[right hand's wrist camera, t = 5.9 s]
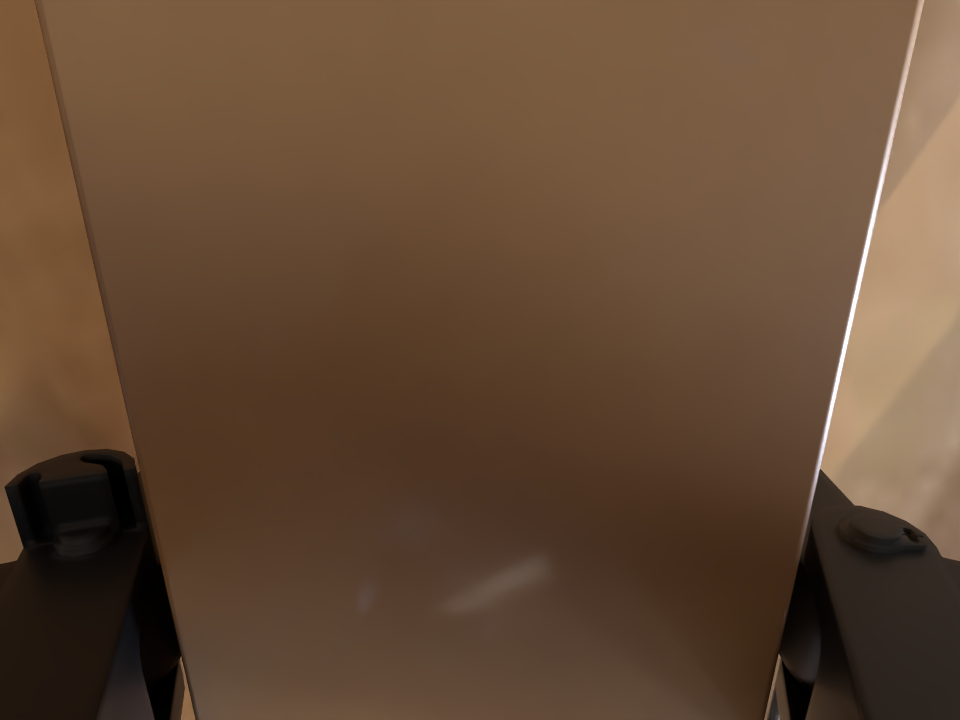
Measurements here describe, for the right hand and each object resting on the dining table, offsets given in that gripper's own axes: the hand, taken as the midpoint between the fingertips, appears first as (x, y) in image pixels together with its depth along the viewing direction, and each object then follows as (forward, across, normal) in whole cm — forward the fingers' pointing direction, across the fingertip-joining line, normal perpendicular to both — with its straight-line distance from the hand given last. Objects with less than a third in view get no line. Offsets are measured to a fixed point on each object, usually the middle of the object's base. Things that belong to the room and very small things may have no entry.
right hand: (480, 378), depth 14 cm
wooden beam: (0, 0, -25) cm, 25 cm away
